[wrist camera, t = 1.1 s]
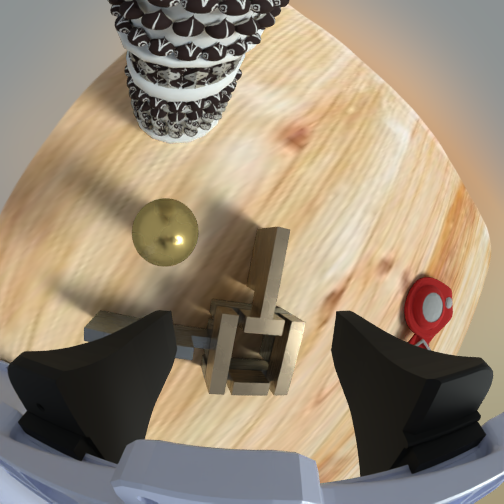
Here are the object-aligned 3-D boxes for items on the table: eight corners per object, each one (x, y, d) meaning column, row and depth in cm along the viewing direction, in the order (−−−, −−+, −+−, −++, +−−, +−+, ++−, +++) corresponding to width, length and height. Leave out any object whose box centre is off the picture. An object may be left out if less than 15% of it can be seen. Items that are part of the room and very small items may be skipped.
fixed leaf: (281, 307, 25) (305, 322, 21) (267, 370, 25) (287, 394, 20) (103, 279, 21) (86, 289, 16) (98, 349, 21) (84, 373, 16)
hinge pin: (143, 252, 22) (126, 259, 13) (151, 209, 22) (140, 193, 13) (184, 259, 23) (191, 271, 14) (192, 217, 23) (204, 205, 14)
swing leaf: (267, 371, 25) (287, 394, 20) (201, 367, 23) (208, 393, 19) (295, 237, 25) (322, 237, 21) (226, 222, 23) (240, 218, 19)
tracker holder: (407, 278, 29) (459, 271, 30) (389, 282, 34) (440, 275, 34) (409, 374, 27) (461, 356, 27) (392, 368, 31) (443, 353, 32)
